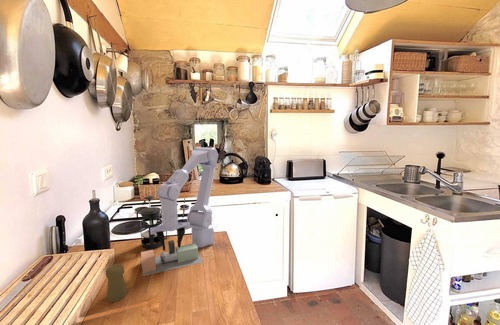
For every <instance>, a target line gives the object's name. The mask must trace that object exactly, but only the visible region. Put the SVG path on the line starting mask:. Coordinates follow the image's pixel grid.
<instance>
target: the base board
mask: <svg viewBox="0 0 500 325" xmlns="http://www.w3.org/2000/svg"><path fill="white" fill-rule="evenodd" d="M155 260H156V270H154V271H150V272H145V273H143V268H142V259H140V264H141V272H142V277H144V276H149V275H153V274H154V275H155V274H158V273H162V272H163V273H164V272H166V271H171V270H175V269H179V268H183V267H188V266H192V265H196V264H197V265H198V264H200V263H201V264H202V263H204V261H203V258H202V256H201V255H200V254H199V252H198V258H196V259H192V260H187V261H183V262H178V261H177V260H174V261H169V262H165V263H161V258H160V255H158V256H155Z"/></svg>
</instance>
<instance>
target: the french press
mask: <svg viewBox="0 0 500 325" xmlns="http://www.w3.org/2000/svg"><path fill="white" fill-rule="evenodd" d="M143 199H144V200H147V201H148V205H149V206H148V207H145V208H142V209H140V210H138V214H140V216H141V217H142V218H143V219H141V220H140V221H139V226H140V227H139V229H140V230H139V231H140V241H141V248H142V249H144V250H146V251H149V250H156V249H158V248H160V247H162V244H161V242H160V240H159V238H158V237H157V234H156V233H154V234H152V235H151V233H150V228H153V227H157V226H160V225H162V218H160V217H159V216H160V215H161V212H162V210H161V207H157V206H151V199H155V196H153V195H148V196H145V197H143ZM155 221H158V222H157V223H154V222H155ZM146 222H149V223H148V224H144V223H146ZM142 229H148V230H145V231H143V232H142ZM166 240H168V231H165V236H164V241H166Z"/></svg>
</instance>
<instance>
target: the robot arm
mask: <svg viewBox="0 0 500 325" xmlns="http://www.w3.org/2000/svg"><path fill="white" fill-rule="evenodd" d="M218 159H219V153H218V150H217V149H216V148H215V147H204V146H203V147H202V146H196V147H194V148H193V149H192V151H191V156H190V157H189V158H188V160H187V161H186V163H185V164H184V165H183V166H182V168H181V169H179V168H178V169H177V170H175V171H174V172H173V174H172V175H171V176H170V177H169V179H167V180H166V182H164V183H162V184H160V185H159V186H158V188H157V191H156V195H157V197H158V198H159V202H160V205H161V206H160V209H161V219H162V225H159V226H157V227H153V228H150V233H151V235H152V234H154V233H156V234H157V237H158V238H159V240H160V242H161V244H162V246H161V247H162V251H164V252H166V243H165V240H164V238H165V233H166V231H167V232H174V231H176V234H177V240H176V241H177V243H176V244H177V247H179V248H180V246H182V240H183V239H184V236H185V234H186V229H190V228H191V244H194V243H196V245H197V247H198V248H205V247H207V246H211V245H214V244H215V231H214V226H213V224H212V221H213V217H212V215H213V210H212V209H211V207H209V202H210V197H211V192H212V187H213V182H214V177H215V173H216V167H217V164H218ZM198 166H200V167H201V168H202V172H201V178H200V182H199V187H198V191H197V192H198V193H197V197H196V200H195V201H196V202H195V204H194V205H191V207H190V209H189V212H188V214H187V216H186V220H187V221H180V222H179V217H178V215H179V214H178V198H179V196H180V193H181V191H182V188H183V187H184V185H185V184H186V183H187V181H188V180H189V179H190V177H189V174H190V173H192V172H193V170H195V168H196V167H198Z"/></svg>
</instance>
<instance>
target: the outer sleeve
mask: <svg viewBox="0 0 500 325" xmlns="http://www.w3.org/2000/svg"><path fill="white" fill-rule="evenodd" d="M175 250H177V256H178V260H177V261H178V262H183V261H187V260H192V259H196V258H198V253H199V247H197V245H196V243H194V244H192V243H190V244H184V245H181V246H180V248H179V247H178V246H175Z"/></svg>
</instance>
